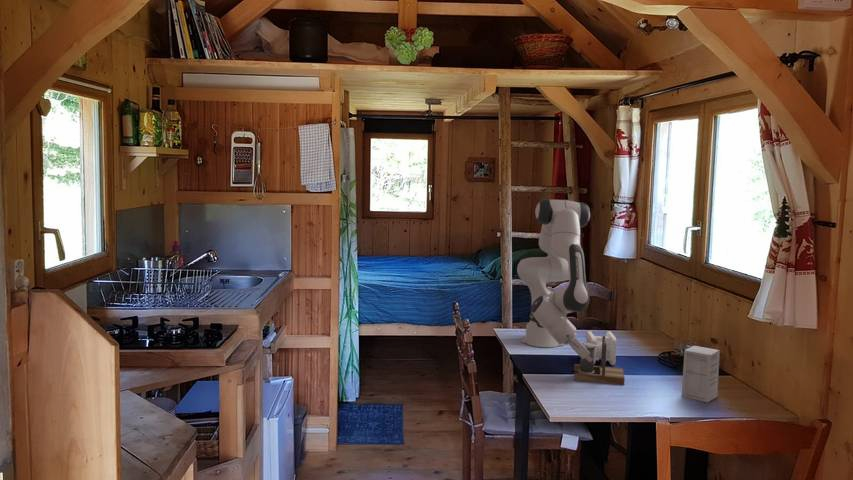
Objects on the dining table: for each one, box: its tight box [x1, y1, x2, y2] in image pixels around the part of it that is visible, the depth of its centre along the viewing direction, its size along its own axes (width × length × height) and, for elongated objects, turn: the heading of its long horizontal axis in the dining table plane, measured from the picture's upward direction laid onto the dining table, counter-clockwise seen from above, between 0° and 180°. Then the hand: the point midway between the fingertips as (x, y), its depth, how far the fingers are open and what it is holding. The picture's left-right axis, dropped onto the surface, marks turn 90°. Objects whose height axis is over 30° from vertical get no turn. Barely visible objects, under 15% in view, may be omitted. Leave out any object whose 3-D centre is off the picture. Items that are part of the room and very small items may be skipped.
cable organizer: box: [585, 330, 617, 366], centre depth 280 cm, size 15×11×12 cm
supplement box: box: [681, 345, 721, 403], centre depth 240 cm, size 10×9×17 cm
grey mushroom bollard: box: [578, 342, 596, 374], centre depth 261 cm, size 6×6×11 cm
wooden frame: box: [573, 335, 625, 386], centre depth 260 cm, size 13×18×14 cm
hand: (588, 358), depth 261 cm, fingers closed on grey mushroom bollard, 5 cm apart
